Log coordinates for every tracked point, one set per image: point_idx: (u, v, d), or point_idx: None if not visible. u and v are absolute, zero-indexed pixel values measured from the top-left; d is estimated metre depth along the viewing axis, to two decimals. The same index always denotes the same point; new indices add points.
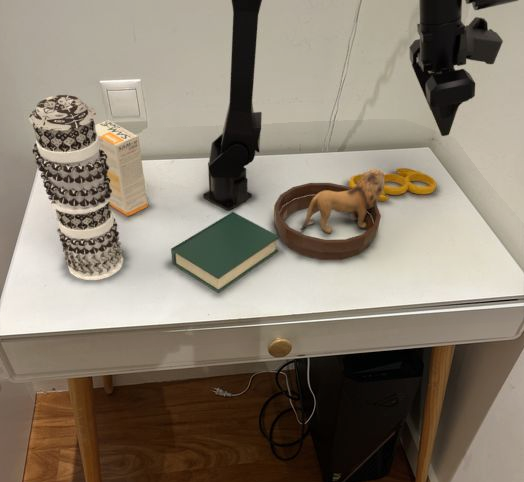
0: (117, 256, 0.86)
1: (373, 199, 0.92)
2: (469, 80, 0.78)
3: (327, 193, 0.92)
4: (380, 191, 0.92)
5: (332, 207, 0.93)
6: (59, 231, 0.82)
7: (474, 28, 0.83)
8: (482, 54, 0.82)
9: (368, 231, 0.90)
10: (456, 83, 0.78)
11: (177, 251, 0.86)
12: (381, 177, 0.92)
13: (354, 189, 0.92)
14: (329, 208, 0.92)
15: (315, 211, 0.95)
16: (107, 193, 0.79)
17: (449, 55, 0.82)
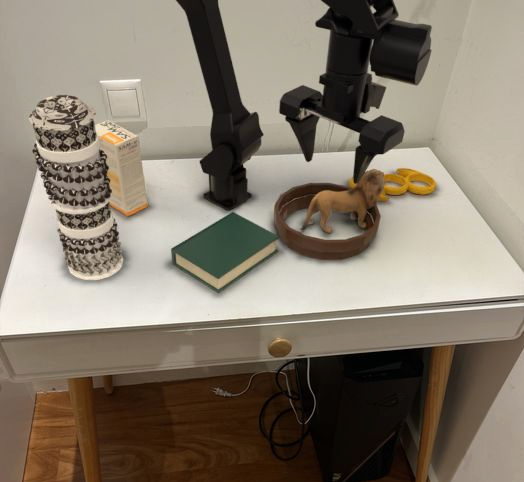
0: (117, 256, 0.86)
1: (373, 199, 0.92)
2: (402, 125, 0.79)
3: (327, 193, 0.92)
4: (380, 191, 0.92)
5: (332, 207, 0.93)
6: (59, 231, 0.82)
7: None
8: (376, 100, 0.83)
9: (368, 231, 0.90)
10: (396, 129, 0.78)
11: (177, 251, 0.86)
12: (381, 177, 0.92)
13: (354, 189, 0.92)
14: (329, 208, 0.92)
15: (315, 211, 0.95)
16: (107, 193, 0.79)
17: (361, 104, 0.79)
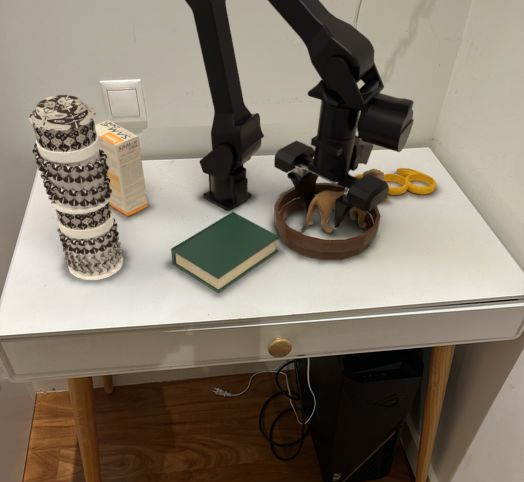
0: (117, 256, 0.86)
1: None
2: None
3: (327, 193, 0.91)
4: None
5: (332, 207, 0.93)
6: (59, 231, 0.82)
7: None
8: (364, 157, 0.90)
9: (368, 231, 0.90)
10: (381, 188, 0.84)
11: (177, 251, 0.86)
12: (381, 177, 0.92)
13: None
14: (329, 208, 0.92)
15: (315, 211, 0.95)
16: (107, 193, 0.79)
17: (349, 163, 0.86)
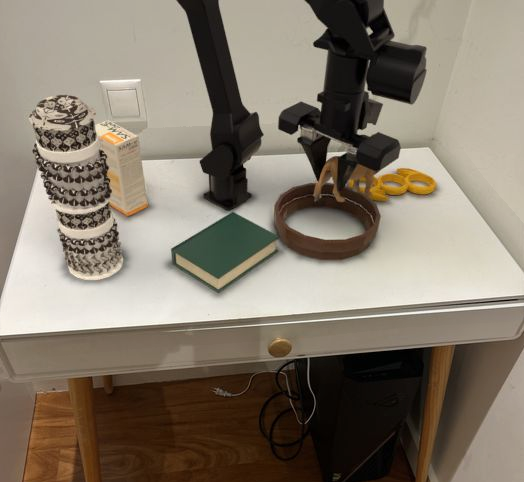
0: (117, 256, 0.86)
1: None
2: (398, 141, 0.80)
3: None
4: None
5: None
6: (59, 231, 0.82)
7: None
8: (373, 117, 0.85)
9: (368, 231, 0.90)
10: (392, 146, 0.79)
11: (177, 251, 0.86)
12: None
13: None
14: None
15: (324, 182, 0.90)
16: (107, 193, 0.79)
17: (358, 121, 0.81)
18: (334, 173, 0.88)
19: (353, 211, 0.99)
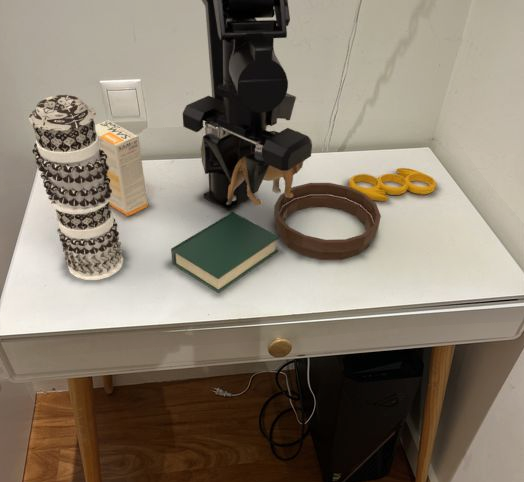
0: (117, 256, 0.86)
1: None
2: (309, 138, 0.73)
3: None
4: None
5: None
6: (59, 231, 0.82)
7: None
8: (284, 111, 0.77)
9: (368, 231, 0.90)
10: (301, 143, 0.72)
11: (177, 251, 0.86)
12: None
13: None
14: None
15: (238, 183, 0.83)
16: (107, 193, 0.79)
17: (265, 116, 0.74)
18: (246, 173, 0.80)
19: (353, 211, 0.99)
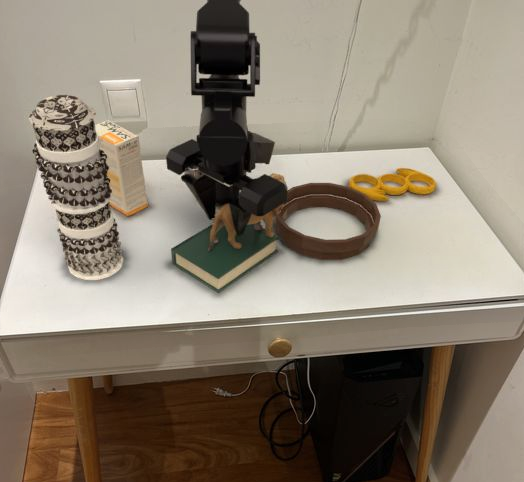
0: (117, 256, 0.86)
1: None
2: (284, 185, 0.76)
3: None
4: None
5: None
6: (59, 231, 0.82)
7: None
8: (263, 156, 0.80)
9: (368, 231, 0.90)
10: (276, 190, 0.75)
11: (177, 251, 0.86)
12: (283, 181, 0.85)
13: None
14: None
15: (219, 227, 0.86)
16: (107, 193, 0.79)
17: (243, 163, 0.77)
18: (226, 223, 0.84)
19: (353, 211, 0.99)
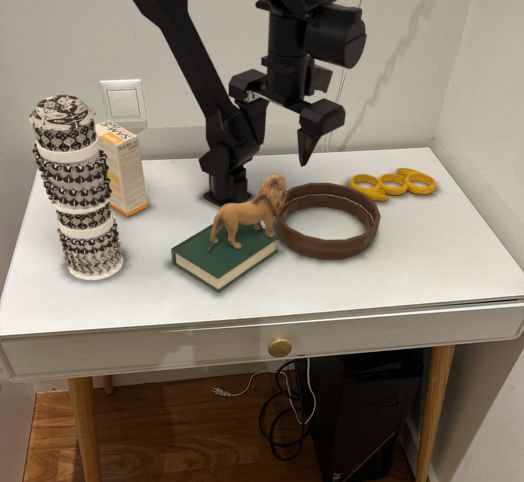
0: (117, 256, 0.86)
1: (279, 206, 0.86)
2: (343, 107, 0.79)
3: (231, 206, 0.83)
4: (284, 196, 0.86)
5: (239, 220, 0.84)
6: (59, 231, 0.82)
7: None
8: (322, 84, 0.84)
9: (368, 231, 0.90)
10: (335, 111, 0.78)
11: (177, 251, 0.86)
12: (283, 181, 0.85)
13: (258, 198, 0.84)
14: (236, 222, 0.84)
15: (219, 227, 0.86)
16: (107, 193, 0.79)
17: (304, 87, 0.80)
18: (226, 223, 0.84)
19: (353, 211, 0.99)
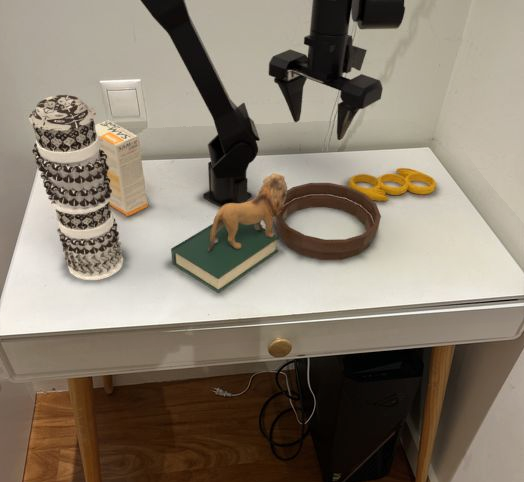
0: (117, 256, 0.86)
1: (279, 206, 0.86)
2: (380, 82, 0.86)
3: (231, 206, 0.83)
4: (284, 196, 0.86)
5: (239, 220, 0.84)
6: (59, 231, 0.82)
7: None
8: (357, 61, 0.90)
9: (368, 231, 0.90)
10: (374, 85, 0.85)
11: (177, 251, 0.86)
12: (283, 181, 0.85)
13: (258, 198, 0.84)
14: (236, 222, 0.84)
15: (219, 227, 0.86)
16: (107, 193, 0.79)
17: (343, 64, 0.87)
18: (226, 223, 0.84)
19: (353, 211, 0.99)
